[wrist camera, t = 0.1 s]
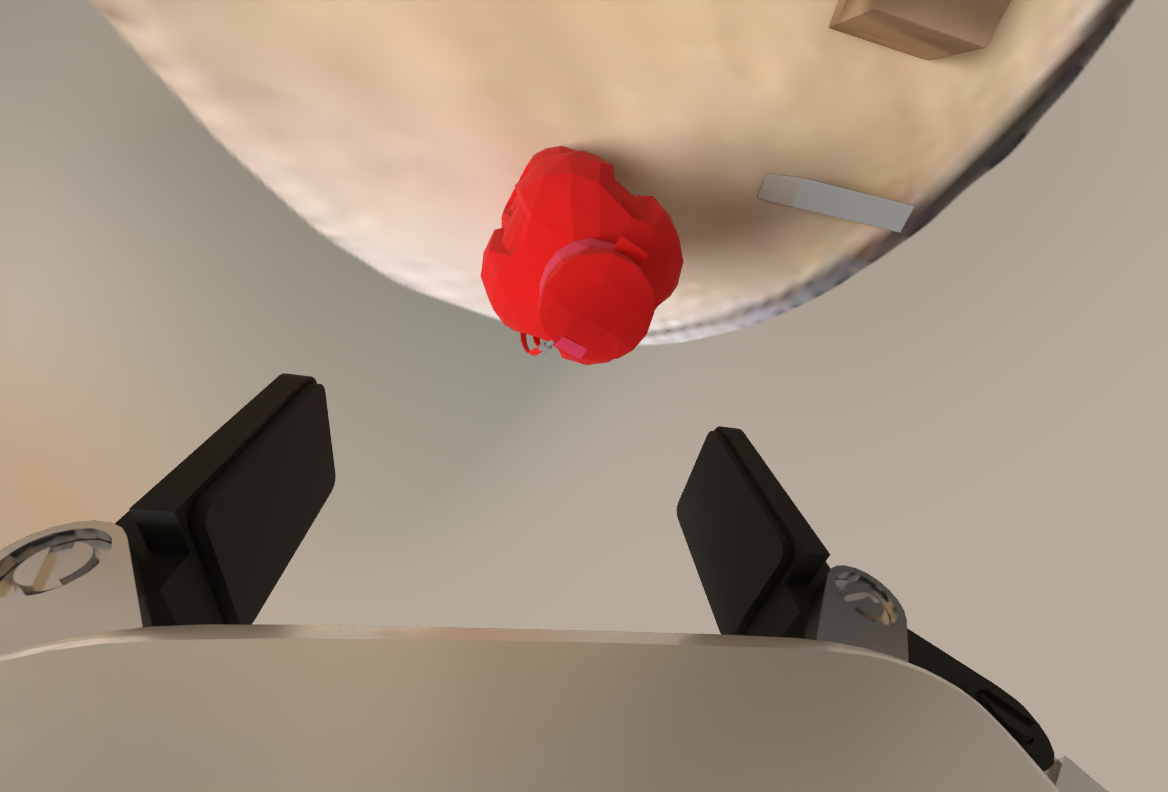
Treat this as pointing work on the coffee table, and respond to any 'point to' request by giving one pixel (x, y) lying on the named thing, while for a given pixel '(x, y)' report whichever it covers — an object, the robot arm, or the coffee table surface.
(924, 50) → the block
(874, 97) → the coffee table surface
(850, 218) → the wall
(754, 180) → the coffee table surface
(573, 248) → the water bottle
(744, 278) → the coffee table surface
